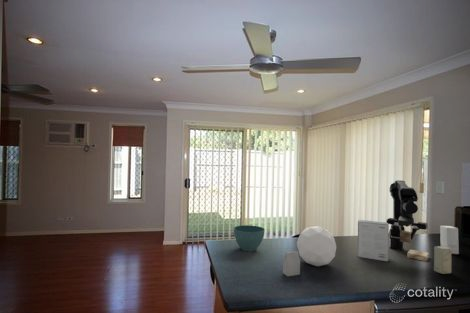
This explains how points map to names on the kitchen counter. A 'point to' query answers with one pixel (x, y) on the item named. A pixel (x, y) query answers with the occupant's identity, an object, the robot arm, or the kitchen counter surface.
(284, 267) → the grey upright block
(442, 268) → the skincare box
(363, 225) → the hard drive box
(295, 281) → the kitchen counter surface
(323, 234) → the ball
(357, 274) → the kitchen counter surface
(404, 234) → the wooden cube
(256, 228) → the plant pot
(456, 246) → the skincare box
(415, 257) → the oak block
